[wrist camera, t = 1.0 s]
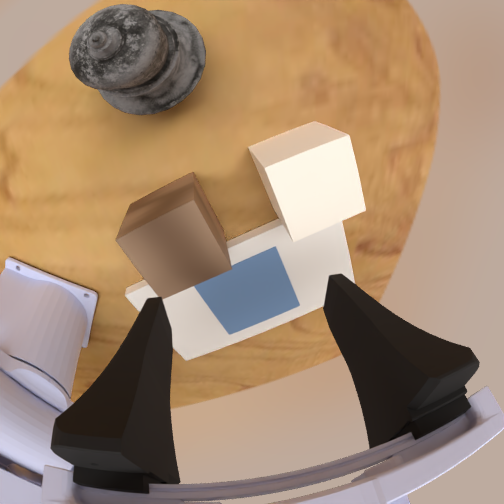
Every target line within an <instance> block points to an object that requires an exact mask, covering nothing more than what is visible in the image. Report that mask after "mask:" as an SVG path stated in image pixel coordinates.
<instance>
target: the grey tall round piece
mask: <svg viewBox="0 0 504 504" xmlns="http://www.w3.org/2000/svg"><path fill="white" fill-rule="evenodd" d="M205 56H206V50H205V46H204V42H203V38H202V36H201V35H200V33H199V31H198V30H197V28H196V27H195V26H194V25H193V24H192V23H191V22H190V21H188V20H187V19H186V18H184V17H182V16H180V15H178V14H176V13H173V12H168V11H162V10H152V11H147V10H146V9H144V8H141V7H138V6H135V5H126V4H120V5H114V6H109V7H107V8H104V9H102V10H100V11H98V12H96V13H95V14H93V15H92V16H91V17H89V18H88V19H87V20H86V21H85V22H84V23H83V24H82V25H81V26H80V27H79V29H78V30H77V32H76V34H75V36H74V37H73V40H72V43H71V46H70V51H69V61H70V65H71V69H72V71H73V73H74V74H75V76H76V77H77V78H78V79H79V80H80V81H81V82H83V83H84V84H85V85H87V86H90V87H92V88H94V89H98V90H99V92H100V94H101V95H102V97H103V98H104V99H105V100H106V101H107V102H108V103H109V104H110V105H112V106H113V107H114V108H116V109H119V110H121V111H123V112H125V113H130V114H136V115H147V114H155V113H158V112H161V111H165V110H168V109H170V108H171V107H173V106H175V105H176V104H178V103H180V102H181V101H182V100H183V99H185V98H186V97H187V96H188V95H189V94H190V93H191V92H192V91H193V89H194V88H195V86H196V85H197V83H198V82H199V80H200V78H201V75H202V72H203V70H204V67H205Z"/></svg>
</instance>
